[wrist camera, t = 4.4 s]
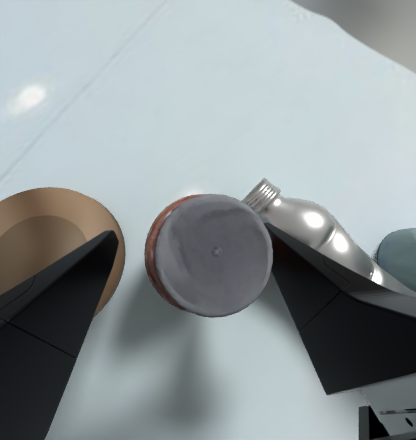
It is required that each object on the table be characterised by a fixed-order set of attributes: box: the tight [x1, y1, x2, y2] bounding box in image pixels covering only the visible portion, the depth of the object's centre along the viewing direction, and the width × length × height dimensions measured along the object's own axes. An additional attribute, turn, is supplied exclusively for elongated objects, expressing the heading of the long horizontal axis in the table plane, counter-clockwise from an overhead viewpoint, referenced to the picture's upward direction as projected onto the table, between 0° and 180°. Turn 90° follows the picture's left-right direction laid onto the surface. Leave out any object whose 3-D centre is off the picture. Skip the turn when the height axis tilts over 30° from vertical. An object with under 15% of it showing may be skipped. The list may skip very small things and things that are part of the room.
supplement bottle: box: [145, 194, 273, 317], centre depth 10 cm, size 6×6×11 cm
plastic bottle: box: [241, 178, 416, 297], centre depth 14 cm, size 6×7×20 cm
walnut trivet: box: [0, 187, 125, 317], centre depth 14 cm, size 14×14×1 cm
